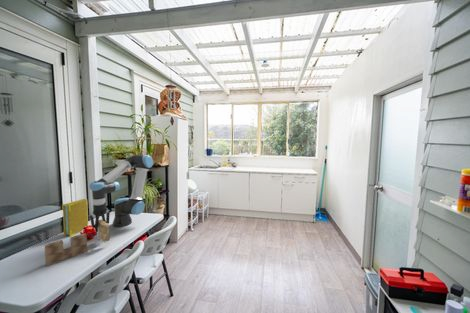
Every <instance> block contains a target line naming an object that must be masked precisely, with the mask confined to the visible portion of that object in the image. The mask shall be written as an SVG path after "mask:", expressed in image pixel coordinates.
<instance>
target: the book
mask: <svg viewBox="0 0 470 313" xmlns="http://www.w3.org/2000/svg"><path fill="white" fill-rule="evenodd" d="M61 208H62V210H61V211H62V217H63V218H62V221H63V236H65V237H66V236H68V237H73V236H76V234H78V233H80V231H81V232H83V231H84V230H83V227H85V226H88V227H89V211H88V209H89V208H88V199H87V198H81V199H78V200H75V201H72V202H70V201H69V202H67V203H63V204H61ZM82 230H83V231H82Z"/></svg>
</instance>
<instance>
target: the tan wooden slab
mask: <svg viewBox="0 0 470 313" xmlns="http://www.w3.org/2000/svg"><path fill="white" fill-rule="evenodd" d="M98 227H99V235H100V236H97V237H98V238H99V239H100V240H102V242H104V243H106V242H108V241H110V231H109V223H108V224H107V223H106V222H104V221H103V220H102V218H100V219H99V221H98Z"/></svg>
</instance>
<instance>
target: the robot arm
mask: <svg viewBox="0 0 470 313" xmlns="http://www.w3.org/2000/svg"><path fill="white" fill-rule="evenodd" d="M153 166H154V160H153V157H152V156H150V155H149V154H133V155H130V156H128V157H127V158H126V159H124V160H122V162H121V163H120V164H119V165H118V166H116V167H115V168H113V169H112V170H110V171H109V172H108V173H106V174H105V175H104V176H102V177H101V178H99V179H98V180H94V181H91V182H90V183H89V186H88V187H89V189H90V190H91V194H92V209H93V211H92V213H91V214H88V218H89V220H90V223H91V227H92V228H93V229H94V232H96V236H97V237H98V236H100V235H99V227H98V221H99V220H100V217H101V219H102V220H103V221H104V222H106V223H107V224H108V225H109V224H110V214H111V210H110V209H107V206H106V195H108V194H110V193H114V192H117V191H119V190H120V189H121V188H120V187H121V186H120V183H119V182H118V181H115V180H117V178H119V177H120V176H122V175H123V174H124V173H125V172H127V171H128V170H131V169H132V168H135V170H136V172H135V177H134V182H133V186H132V191H131V195H130V197H121V198H118V199H115V200H114V204H113V206H114V218H113V221H112V226H113V227H114V228H121V227H126V226H128V225H131V224H132V223H133V220H132V217H131V215H133V216H135V215H140V214H141V213H143V212H144V210H145V207H146V206H145V202H144V198H143V192H144V187H145V183H146V178H147V174H148V171H150V168H152V167H153ZM105 215H106V216H105ZM94 216H95V218H94ZM94 219H95V220H94Z"/></svg>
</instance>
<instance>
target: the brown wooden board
mask: <svg viewBox="0 0 470 313" xmlns="http://www.w3.org/2000/svg"><path fill="white" fill-rule="evenodd" d="M87 236H88V235H87V234H86V232H84V233H80V234H77V235H73V236H69V237H70V238H69V240H70V246H69V247H65V248H64V241H63V239H61V240H57V241H54V242H49V243H45V244H44V256H45V257H44V258H45V259H44V260H45V266H51V265H53V263H54V264H56V263H59V262H61V261H64V260H67V259H70V258H73V257H75V256H76V257H77V256H79V255H81V254H84V253H87V252H88V243H87V242H88V237H87ZM50 264H51V265H50Z"/></svg>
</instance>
